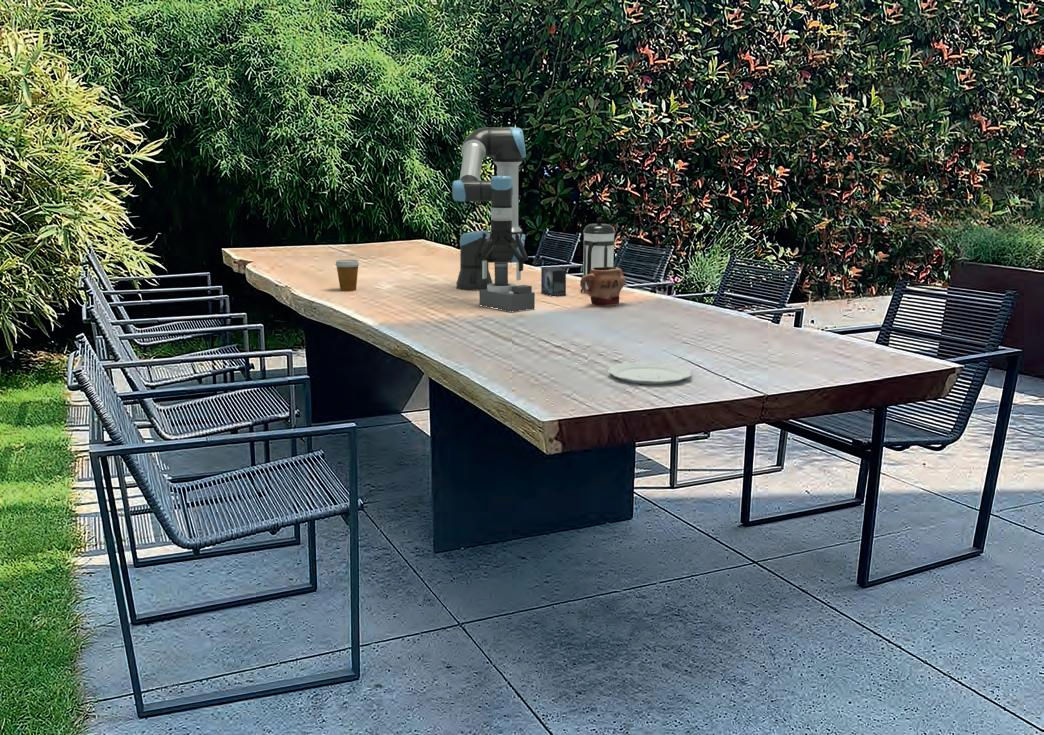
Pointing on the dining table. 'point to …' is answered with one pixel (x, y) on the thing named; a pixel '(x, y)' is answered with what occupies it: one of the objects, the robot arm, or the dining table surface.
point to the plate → (649, 372)
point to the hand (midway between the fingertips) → (501, 279)
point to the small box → (553, 281)
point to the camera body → (508, 297)
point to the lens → (501, 273)
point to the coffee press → (598, 247)
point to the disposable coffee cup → (347, 274)
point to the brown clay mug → (604, 285)
